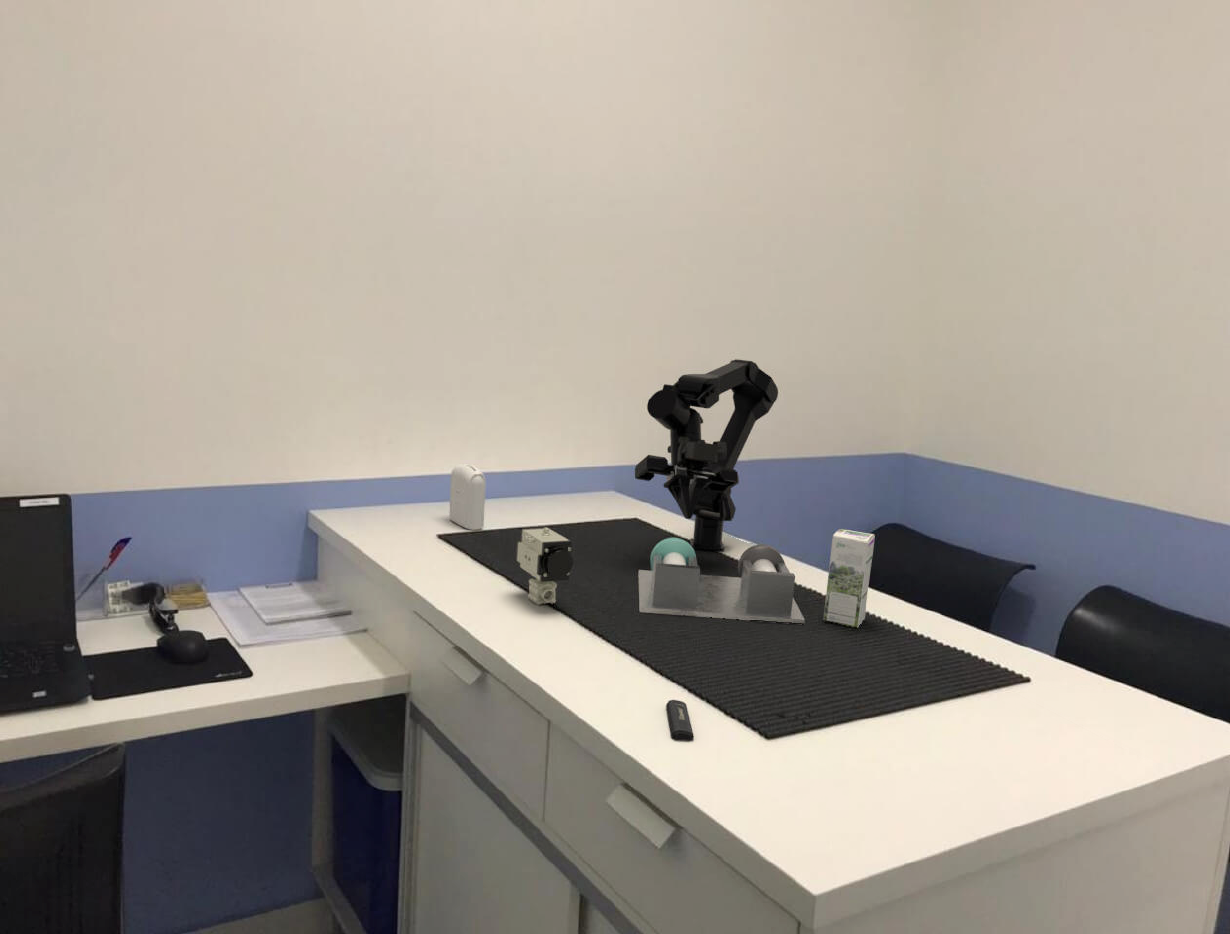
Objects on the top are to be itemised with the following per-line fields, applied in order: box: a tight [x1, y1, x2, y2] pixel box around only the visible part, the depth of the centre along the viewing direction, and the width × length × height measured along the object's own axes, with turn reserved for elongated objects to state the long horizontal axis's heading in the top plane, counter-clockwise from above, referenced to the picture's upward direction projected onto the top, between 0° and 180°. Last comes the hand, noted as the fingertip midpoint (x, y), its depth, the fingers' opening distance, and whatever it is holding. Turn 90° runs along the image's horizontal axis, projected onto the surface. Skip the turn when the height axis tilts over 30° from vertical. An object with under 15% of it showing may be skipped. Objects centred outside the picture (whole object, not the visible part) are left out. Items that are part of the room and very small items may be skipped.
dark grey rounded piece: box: [737, 543, 786, 578], centre depth 170 cm, size 11×8×8 cm
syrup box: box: [822, 528, 876, 629], centre depth 165 cm, size 6×6×14 cm
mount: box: [637, 553, 806, 624], centre depth 173 cm, size 22×26×7 cm
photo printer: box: [449, 463, 487, 531], centre depth 209 cm, size 10×4×12 cm, turn 32°
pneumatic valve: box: [515, 527, 574, 606], centre depth 163 cm, size 6×12×12 cm, turn 29°
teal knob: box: [650, 537, 698, 571], centre depth 170 cm, size 11×8×8 cm
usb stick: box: [665, 699, 695, 742], centre depth 122 cm, size 10×3×2 cm, turn 2°
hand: (688, 518), depth 185 cm, fingers closed
